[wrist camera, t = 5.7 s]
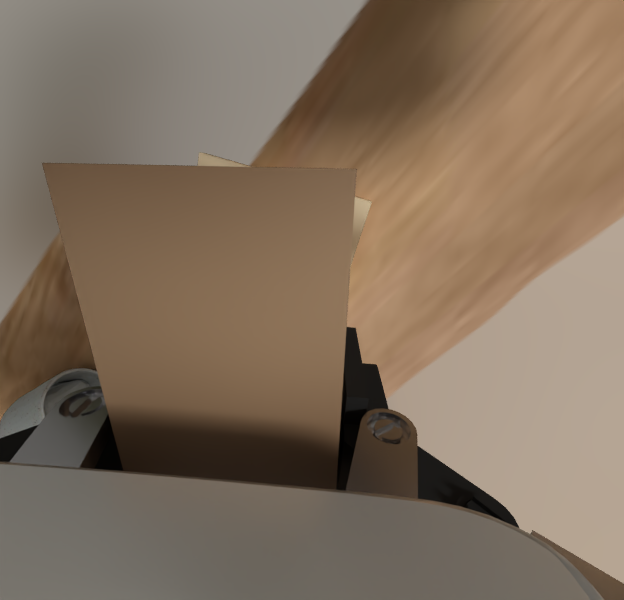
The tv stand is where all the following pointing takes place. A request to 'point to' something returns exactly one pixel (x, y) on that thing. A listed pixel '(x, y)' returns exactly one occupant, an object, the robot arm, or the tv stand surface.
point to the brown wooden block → (214, 312)
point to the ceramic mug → (45, 399)
